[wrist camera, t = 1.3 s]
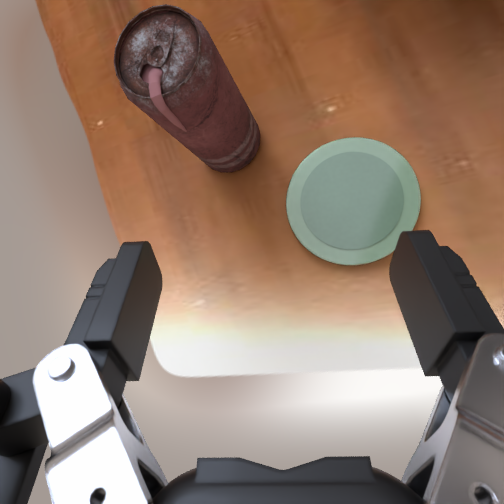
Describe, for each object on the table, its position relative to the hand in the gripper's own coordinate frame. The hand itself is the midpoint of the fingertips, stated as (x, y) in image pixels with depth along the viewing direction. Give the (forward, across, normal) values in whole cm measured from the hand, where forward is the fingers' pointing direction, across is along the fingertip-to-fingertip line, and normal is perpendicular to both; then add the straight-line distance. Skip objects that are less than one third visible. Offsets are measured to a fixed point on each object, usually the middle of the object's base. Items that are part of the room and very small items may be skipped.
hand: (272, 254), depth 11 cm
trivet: (+16, -7, +10) cm, 20 cm away
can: (+23, +3, +8) cm, 24 cm away
